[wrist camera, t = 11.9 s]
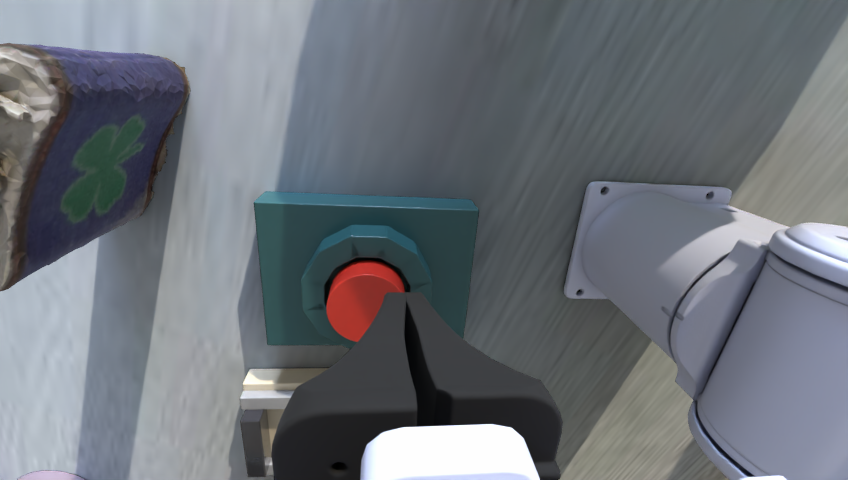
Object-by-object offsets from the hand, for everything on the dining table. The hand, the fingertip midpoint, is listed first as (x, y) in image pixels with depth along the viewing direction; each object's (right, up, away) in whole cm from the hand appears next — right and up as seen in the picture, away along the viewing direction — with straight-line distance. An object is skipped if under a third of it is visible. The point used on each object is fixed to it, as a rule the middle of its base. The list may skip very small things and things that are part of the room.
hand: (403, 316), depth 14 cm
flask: (-14, +8, +7) cm, 18 cm away
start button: (-2, 0, +7) cm, 8 cm away
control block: (-3, +1, +10) cm, 11 cm away
